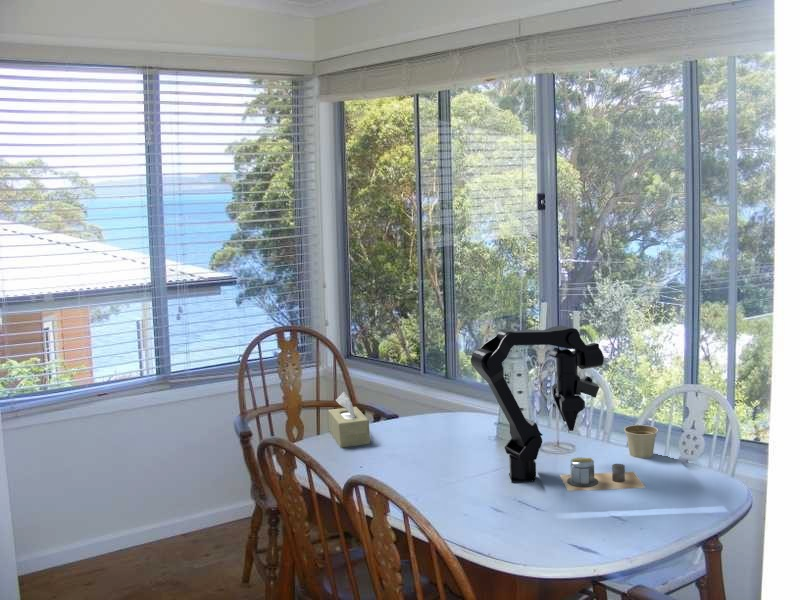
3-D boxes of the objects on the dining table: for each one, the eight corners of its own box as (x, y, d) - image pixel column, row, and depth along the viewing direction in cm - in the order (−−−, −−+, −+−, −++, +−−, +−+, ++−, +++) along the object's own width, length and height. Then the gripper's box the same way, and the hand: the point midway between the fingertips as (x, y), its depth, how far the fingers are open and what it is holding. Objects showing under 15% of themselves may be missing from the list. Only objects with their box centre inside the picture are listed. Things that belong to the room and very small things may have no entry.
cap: (573, 485, 218) (572, 462, 217) (569, 477, 224) (568, 455, 223) (596, 484, 218) (595, 461, 217) (591, 476, 224) (591, 454, 223)
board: (568, 495, 215) (567, 476, 214) (559, 479, 227) (559, 460, 226) (645, 491, 215) (645, 472, 214) (633, 475, 227) (633, 457, 226)
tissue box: (329, 432, 283) (326, 387, 280) (357, 429, 285) (354, 383, 283) (340, 448, 265) (337, 399, 262) (370, 444, 267) (367, 396, 265)
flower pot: (660, 464, 235) (659, 434, 234) (625, 463, 237) (625, 434, 236) (656, 453, 244) (656, 424, 243) (623, 453, 246) (623, 424, 245)
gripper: (603, 377, 221) (604, 434, 223) (589, 363, 240) (590, 415, 242) (561, 379, 222) (562, 436, 224) (550, 364, 240) (552, 417, 242)
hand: (568, 426), depth 233 cm, fingers open, 9 cm apart
